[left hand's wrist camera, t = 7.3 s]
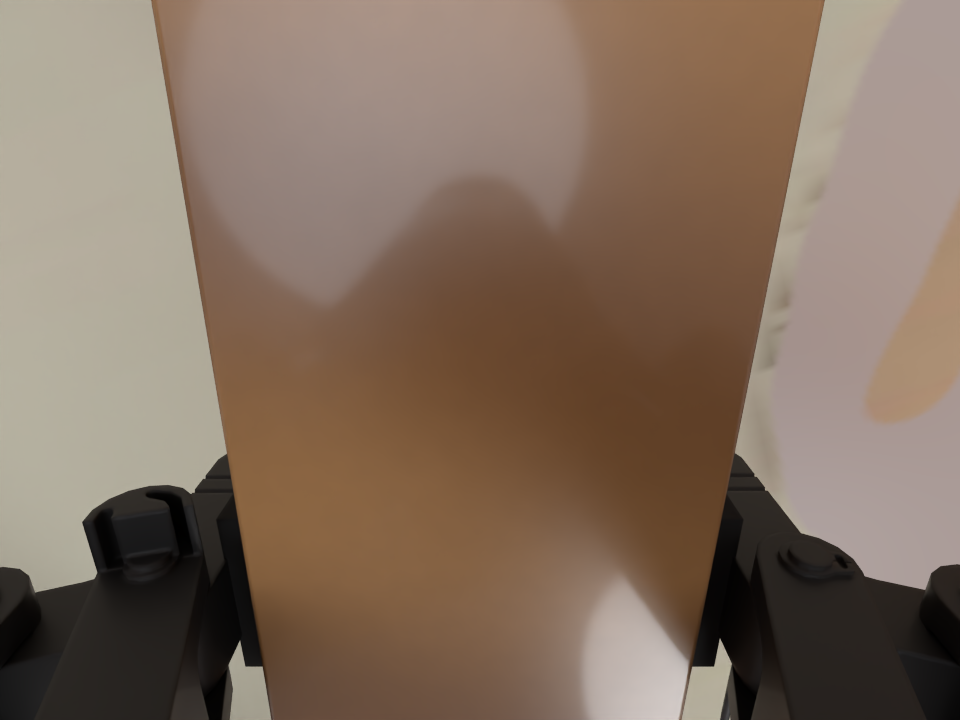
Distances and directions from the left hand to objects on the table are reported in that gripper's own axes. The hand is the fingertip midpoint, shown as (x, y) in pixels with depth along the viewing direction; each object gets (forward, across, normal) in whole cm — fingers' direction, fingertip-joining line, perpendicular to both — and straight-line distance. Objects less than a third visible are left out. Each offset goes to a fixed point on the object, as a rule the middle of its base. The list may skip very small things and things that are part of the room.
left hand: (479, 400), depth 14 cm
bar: (+1, 0, -27) cm, 27 cm away
